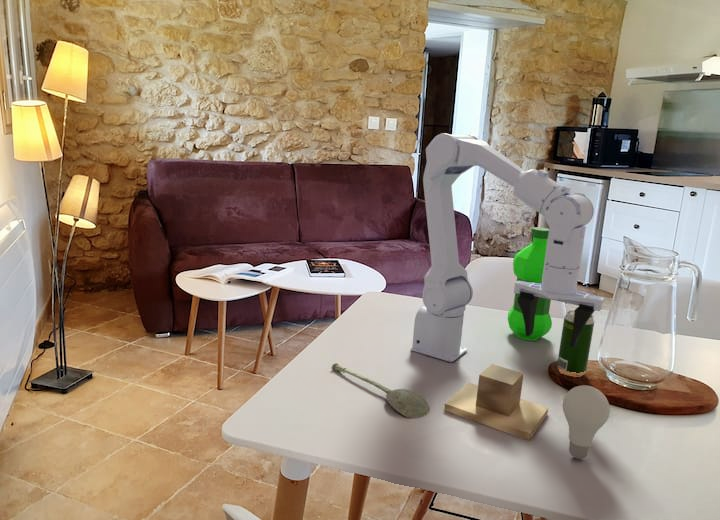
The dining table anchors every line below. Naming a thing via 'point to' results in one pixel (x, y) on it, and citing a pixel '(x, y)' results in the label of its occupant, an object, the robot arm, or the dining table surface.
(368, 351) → the dining table surface
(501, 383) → the tan cube
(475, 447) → the dining table surface
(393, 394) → the soupspoon
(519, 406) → the oak board
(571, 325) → the beer can
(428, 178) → the robot arm
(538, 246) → the plastic bottle
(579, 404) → the lightbulb
